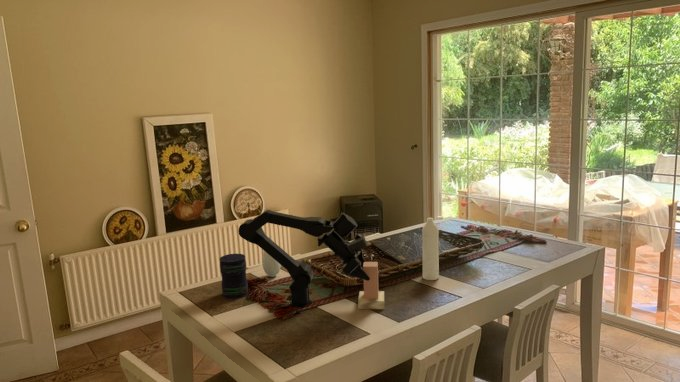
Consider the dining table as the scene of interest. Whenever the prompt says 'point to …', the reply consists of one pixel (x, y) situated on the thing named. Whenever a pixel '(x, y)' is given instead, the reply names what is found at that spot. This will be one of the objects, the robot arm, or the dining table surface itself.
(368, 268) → the terracotta post
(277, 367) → the dining table surface
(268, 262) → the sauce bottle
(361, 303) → the birch plinth
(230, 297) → the storage jar
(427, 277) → the water bottle
